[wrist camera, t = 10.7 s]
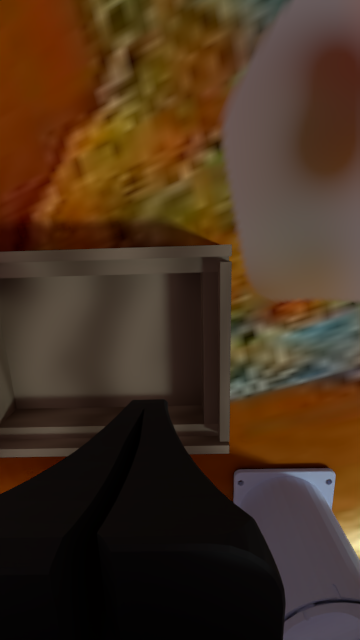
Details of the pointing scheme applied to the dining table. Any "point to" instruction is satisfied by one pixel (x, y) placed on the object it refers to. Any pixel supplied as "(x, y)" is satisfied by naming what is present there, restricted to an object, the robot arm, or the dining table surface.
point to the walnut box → (113, 344)
